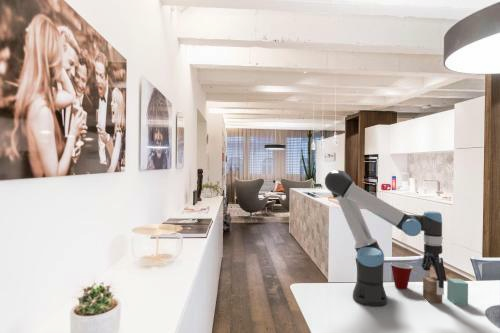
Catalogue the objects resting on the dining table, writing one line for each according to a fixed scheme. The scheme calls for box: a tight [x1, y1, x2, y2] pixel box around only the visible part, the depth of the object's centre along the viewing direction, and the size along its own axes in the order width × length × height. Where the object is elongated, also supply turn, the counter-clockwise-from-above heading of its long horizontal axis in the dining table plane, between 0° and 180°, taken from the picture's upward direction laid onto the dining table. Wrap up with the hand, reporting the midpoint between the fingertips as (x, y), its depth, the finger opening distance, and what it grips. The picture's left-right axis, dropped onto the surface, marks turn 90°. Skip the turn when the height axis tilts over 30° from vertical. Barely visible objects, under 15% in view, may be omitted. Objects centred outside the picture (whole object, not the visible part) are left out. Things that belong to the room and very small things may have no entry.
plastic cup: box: [390, 262, 414, 290], centre depth 161 cm, size 11×11×12 cm
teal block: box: [446, 277, 469, 306], centre depth 143 cm, size 6×6×10 cm
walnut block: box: [422, 276, 443, 304], centre depth 145 cm, size 6×6×10 cm
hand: (433, 288), depth 145 cm, fingers open, 13 cm apart
